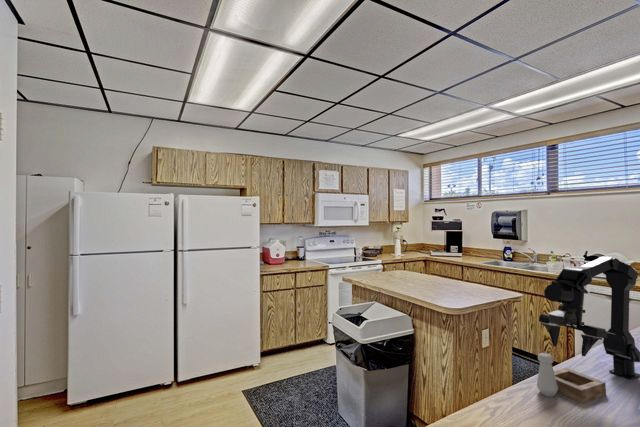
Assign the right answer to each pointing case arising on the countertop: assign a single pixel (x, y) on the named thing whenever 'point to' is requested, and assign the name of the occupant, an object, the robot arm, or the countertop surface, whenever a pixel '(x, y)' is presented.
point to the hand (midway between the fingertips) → (568, 351)
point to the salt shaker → (546, 376)
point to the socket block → (579, 385)
